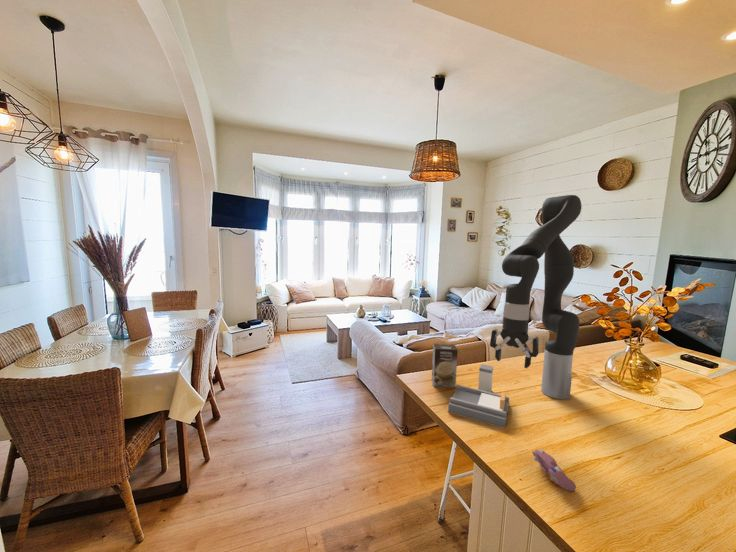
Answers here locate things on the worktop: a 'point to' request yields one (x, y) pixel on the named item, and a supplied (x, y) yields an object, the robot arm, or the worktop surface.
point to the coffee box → (444, 365)
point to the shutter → (493, 401)
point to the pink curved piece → (553, 470)
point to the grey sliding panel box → (476, 406)
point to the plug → (485, 378)
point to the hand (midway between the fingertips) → (512, 363)
